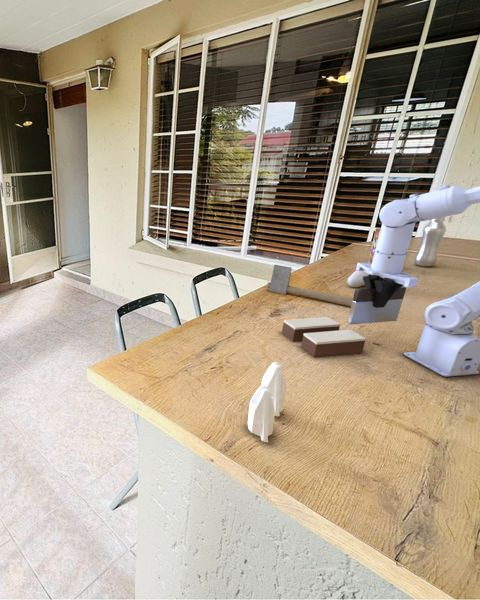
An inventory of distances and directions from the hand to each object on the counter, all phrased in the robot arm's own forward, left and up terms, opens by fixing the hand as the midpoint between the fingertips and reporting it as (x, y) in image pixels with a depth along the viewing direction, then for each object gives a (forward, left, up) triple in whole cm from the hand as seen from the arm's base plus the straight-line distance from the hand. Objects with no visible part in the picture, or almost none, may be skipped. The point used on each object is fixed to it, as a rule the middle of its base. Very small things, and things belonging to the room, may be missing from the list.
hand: (376, 305), depth 87 cm
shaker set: (-25, +42, -9) cm, 50 cm away
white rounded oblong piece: (+38, -30, -9) cm, 49 cm away
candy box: (+56, -52, -9) cm, 77 cm away
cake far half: (+4, +13, -9) cm, 16 cm away
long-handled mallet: (+28, -5, -9) cm, 30 cm away
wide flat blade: (0, 0, -4) cm, 4 cm away
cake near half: (-4, +13, -9) cm, 16 cm away
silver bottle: (+53, -69, -9) cm, 87 cm away
